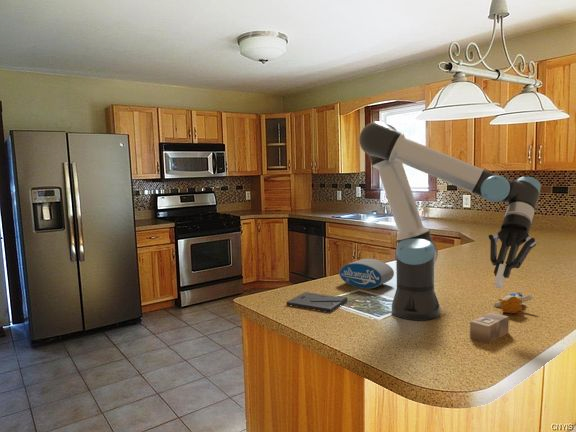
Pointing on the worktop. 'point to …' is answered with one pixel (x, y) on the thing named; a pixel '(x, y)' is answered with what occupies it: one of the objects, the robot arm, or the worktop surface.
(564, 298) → the worktop surface
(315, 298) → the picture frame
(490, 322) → the block
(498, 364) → the worktop surface
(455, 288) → the worktop surface
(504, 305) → the toy
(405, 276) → the robot arm
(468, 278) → the worktop surface
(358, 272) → the sign
